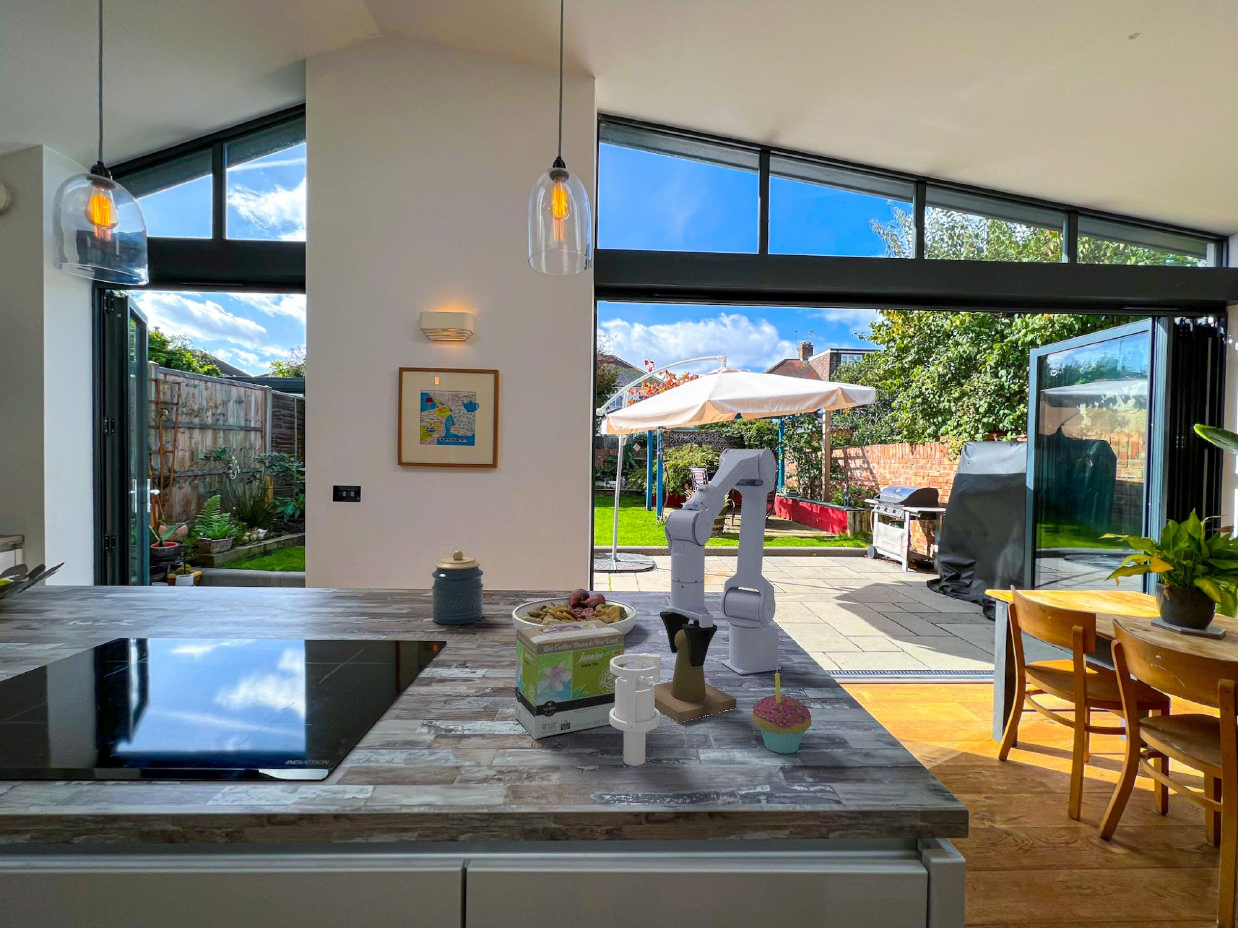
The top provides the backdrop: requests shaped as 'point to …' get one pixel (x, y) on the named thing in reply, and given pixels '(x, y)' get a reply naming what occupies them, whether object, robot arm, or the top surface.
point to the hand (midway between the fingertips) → (686, 658)
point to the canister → (457, 590)
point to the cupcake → (781, 720)
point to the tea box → (565, 676)
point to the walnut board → (691, 703)
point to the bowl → (575, 611)
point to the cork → (686, 674)
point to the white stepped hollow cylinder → (635, 702)
